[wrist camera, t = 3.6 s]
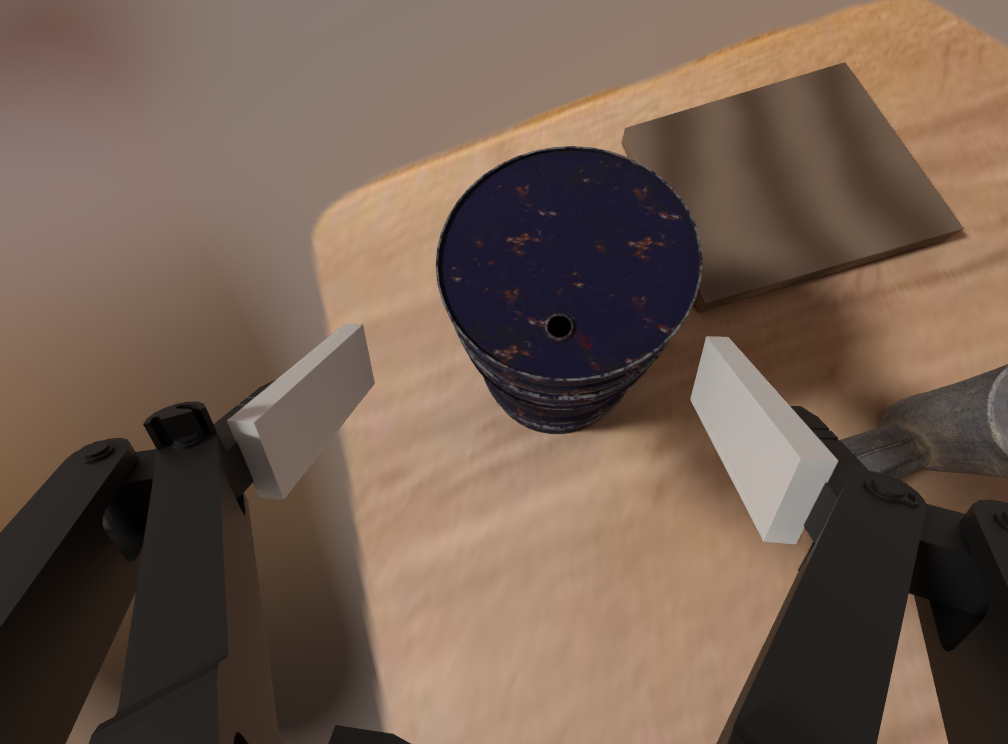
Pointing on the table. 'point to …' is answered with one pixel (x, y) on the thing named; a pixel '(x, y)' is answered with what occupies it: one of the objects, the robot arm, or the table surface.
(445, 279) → the navy cylinder
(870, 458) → the pipe
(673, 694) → the table surface
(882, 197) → the walnut serving board
